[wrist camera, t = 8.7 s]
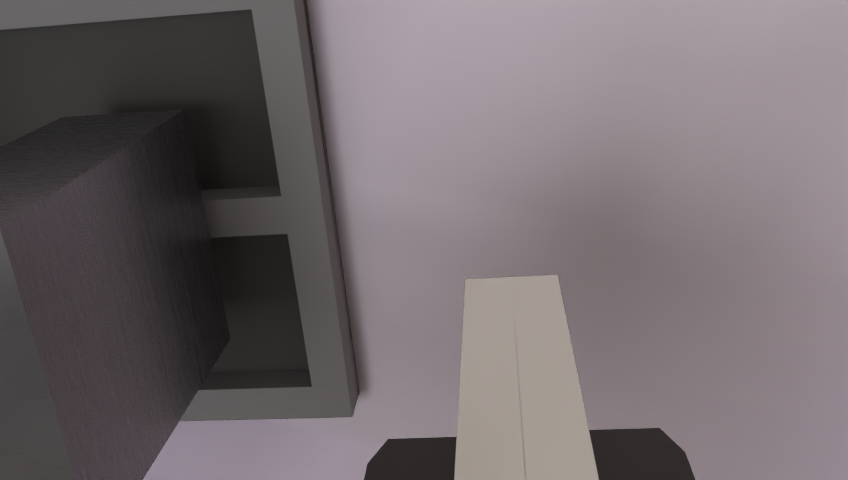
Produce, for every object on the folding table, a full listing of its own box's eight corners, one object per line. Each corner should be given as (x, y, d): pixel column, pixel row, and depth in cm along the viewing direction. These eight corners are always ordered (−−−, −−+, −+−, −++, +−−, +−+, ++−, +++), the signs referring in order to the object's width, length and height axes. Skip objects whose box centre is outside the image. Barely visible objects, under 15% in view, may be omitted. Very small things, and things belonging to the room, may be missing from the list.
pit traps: (34, 401, 25) (13, 425, 24) (-93, -10, 20) (-127, -4, 19) (359, 392, 24) (352, 417, 22) (300, -45, 19) (287, -42, 18)
